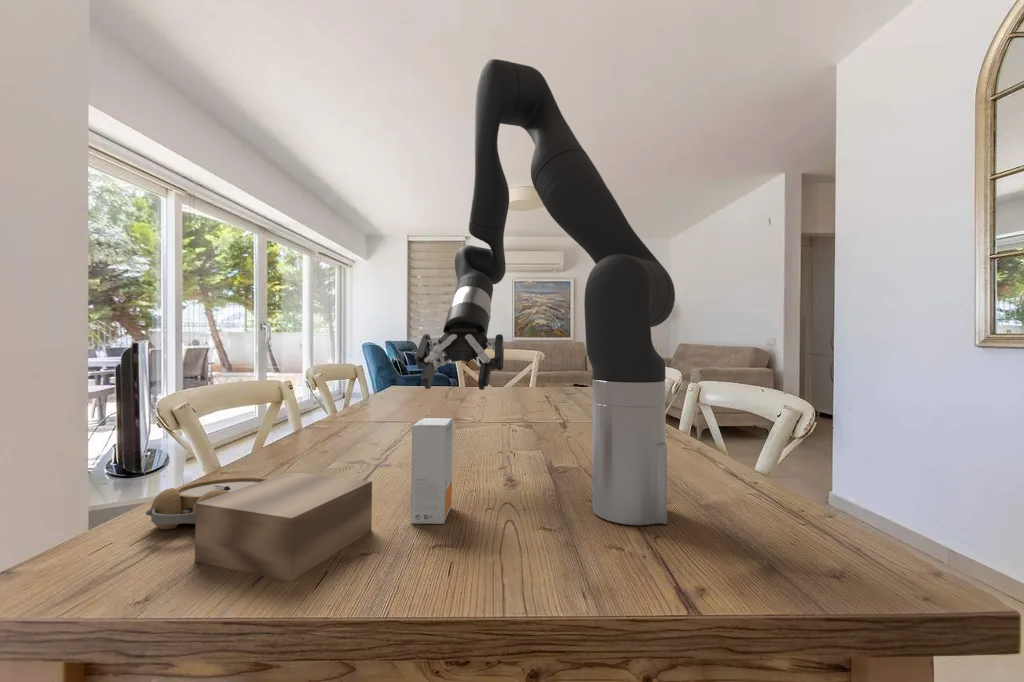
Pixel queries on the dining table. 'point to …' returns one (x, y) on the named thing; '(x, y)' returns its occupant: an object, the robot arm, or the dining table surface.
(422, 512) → the skincare box
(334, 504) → the walnut block
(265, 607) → the dining table surface
